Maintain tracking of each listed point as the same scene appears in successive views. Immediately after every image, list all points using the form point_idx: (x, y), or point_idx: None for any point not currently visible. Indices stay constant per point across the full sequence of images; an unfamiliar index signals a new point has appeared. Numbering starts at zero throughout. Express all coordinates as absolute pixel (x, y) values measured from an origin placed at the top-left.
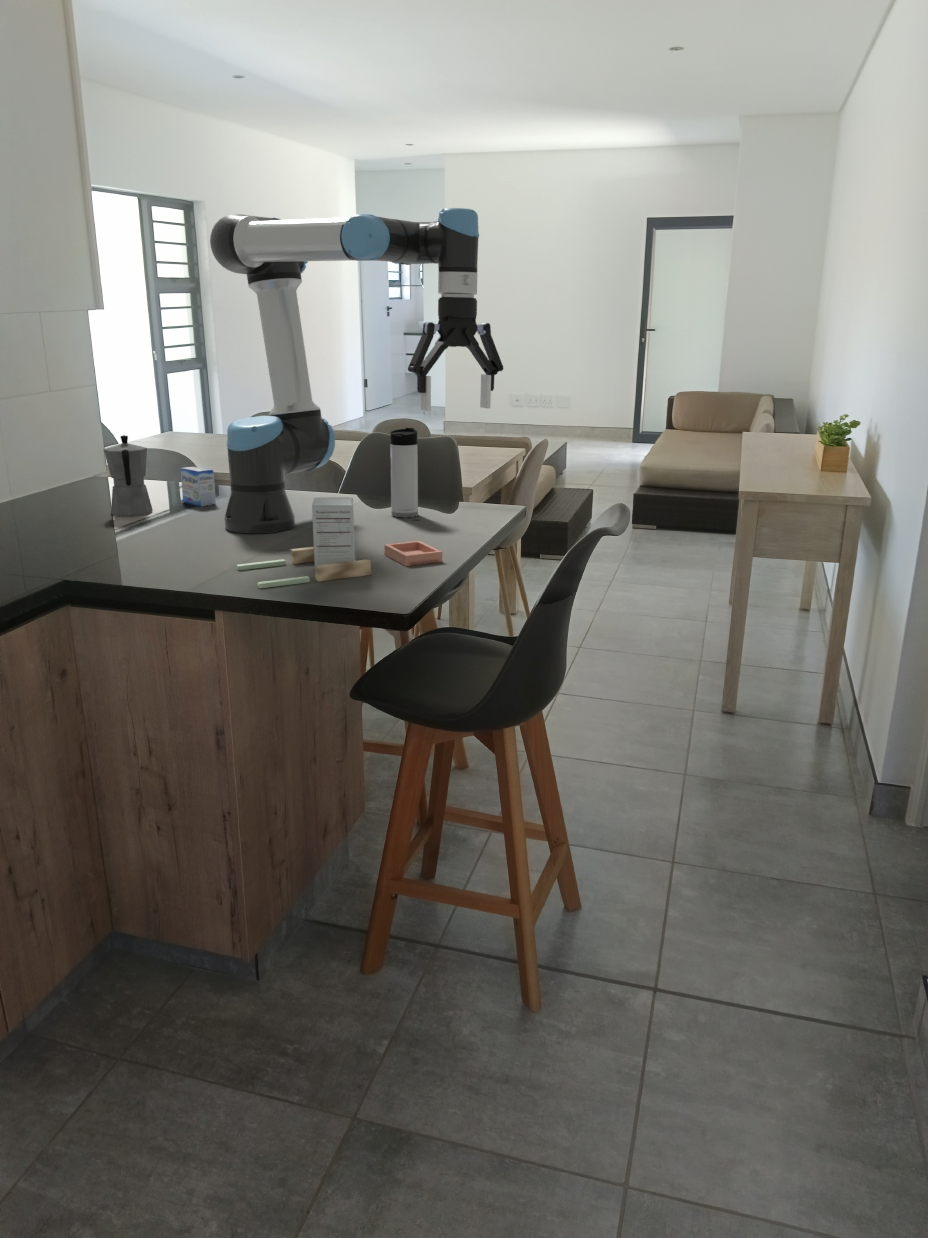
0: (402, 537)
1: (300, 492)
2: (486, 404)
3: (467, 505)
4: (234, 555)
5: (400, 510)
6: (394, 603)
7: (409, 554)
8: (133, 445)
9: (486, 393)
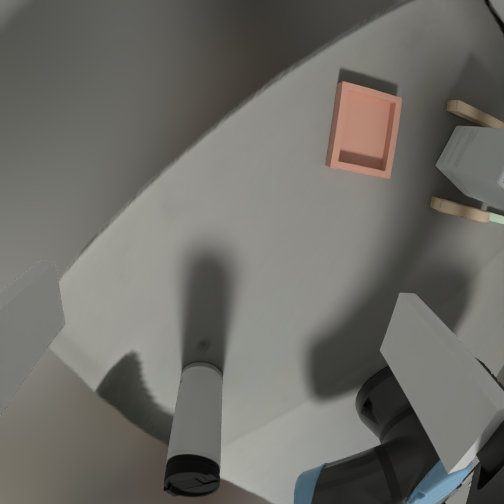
0: (293, 259)
1: (249, 490)
2: (47, 276)
3: (89, 376)
4: (490, 282)
5: (216, 375)
6: (467, 4)
7: (394, 101)
8: (439, 501)
9: (17, 308)
